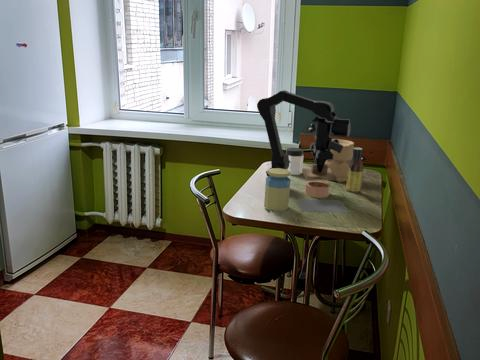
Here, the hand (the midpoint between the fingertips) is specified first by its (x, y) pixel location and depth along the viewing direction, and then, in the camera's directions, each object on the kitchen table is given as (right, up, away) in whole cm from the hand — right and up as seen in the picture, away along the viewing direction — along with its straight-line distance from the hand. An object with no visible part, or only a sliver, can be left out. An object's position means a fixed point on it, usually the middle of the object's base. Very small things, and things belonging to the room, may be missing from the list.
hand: (319, 171), depth 183 cm
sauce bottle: (+16, -9, +10) cm, 21 cm away
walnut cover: (0, -2, +1) cm, 2 cm away
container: (+14, -3, +31) cm, 34 cm away
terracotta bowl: (0, -10, +3) cm, 11 cm away
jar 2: (-6, 0, +37) cm, 37 cm away
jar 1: (-19, -15, -14) cm, 28 cm away
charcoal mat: (-1, -15, -11) cm, 18 cm away
